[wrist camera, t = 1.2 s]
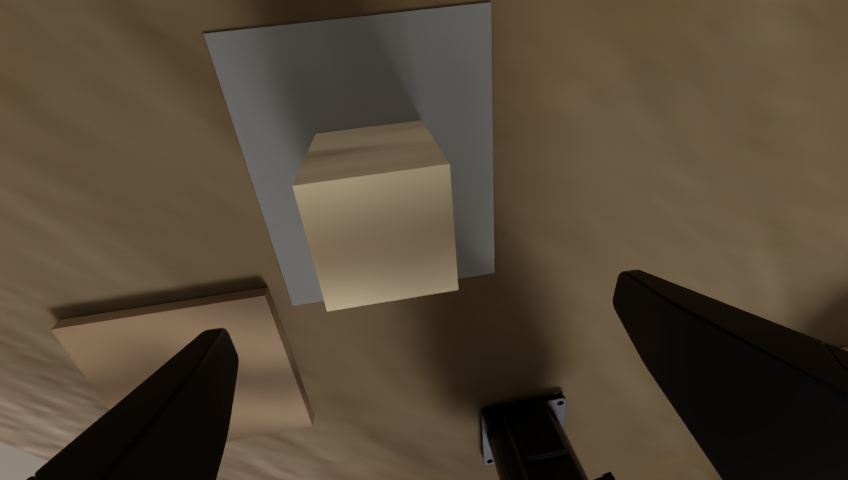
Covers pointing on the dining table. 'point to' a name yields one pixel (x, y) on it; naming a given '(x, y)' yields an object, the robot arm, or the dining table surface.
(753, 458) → the robot arm
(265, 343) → the walnut board
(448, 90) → the slate gray tile
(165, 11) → the dining table surface
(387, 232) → the maple block
